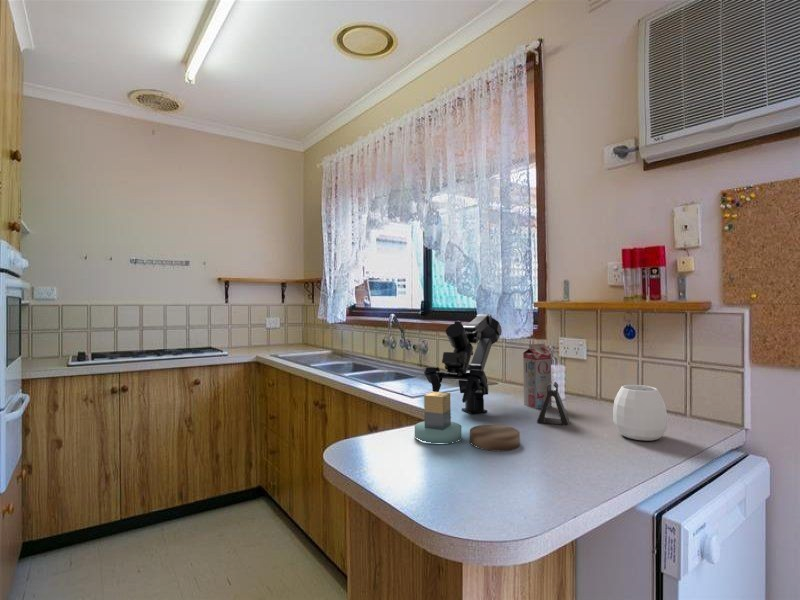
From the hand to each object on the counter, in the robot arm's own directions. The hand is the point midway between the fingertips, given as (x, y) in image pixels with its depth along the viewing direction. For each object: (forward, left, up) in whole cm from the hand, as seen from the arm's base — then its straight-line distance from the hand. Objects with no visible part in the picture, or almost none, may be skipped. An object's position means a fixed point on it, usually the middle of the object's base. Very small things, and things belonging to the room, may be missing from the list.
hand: (448, 400), depth 132 cm
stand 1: (+5, -6, -9) cm, 12 cm away
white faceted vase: (+30, +43, -9) cm, 53 cm away
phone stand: (+8, +33, -9) cm, 35 cm away
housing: (+5, -6, -6) cm, 10 cm away
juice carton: (-10, +43, -9) cm, 45 cm away
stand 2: (+16, +5, -9) cm, 19 cm away
